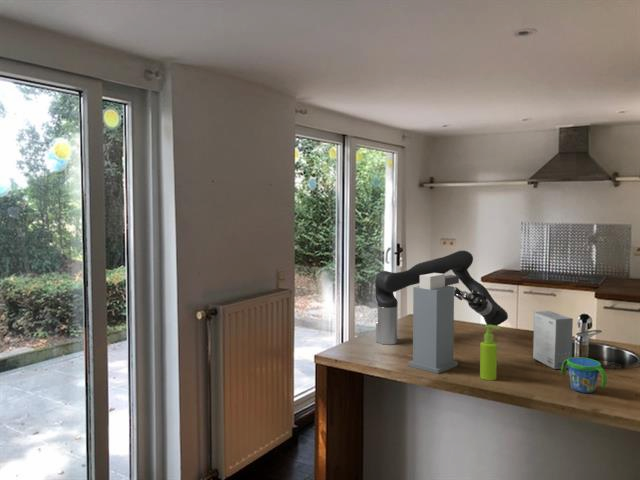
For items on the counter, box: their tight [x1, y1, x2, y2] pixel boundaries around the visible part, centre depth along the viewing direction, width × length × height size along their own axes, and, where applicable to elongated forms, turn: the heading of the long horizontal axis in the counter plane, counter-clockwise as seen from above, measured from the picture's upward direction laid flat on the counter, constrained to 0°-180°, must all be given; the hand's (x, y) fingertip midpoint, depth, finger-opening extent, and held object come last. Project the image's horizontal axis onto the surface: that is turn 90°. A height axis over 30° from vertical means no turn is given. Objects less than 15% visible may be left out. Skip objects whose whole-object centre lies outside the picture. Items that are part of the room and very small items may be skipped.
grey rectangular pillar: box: [407, 285, 459, 375], centre depth 209 cm, size 14×14×32 cm
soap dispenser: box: [479, 324, 501, 381], centre depth 194 cm, size 6×7×20 cm
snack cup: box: [560, 356, 608, 394], centre depth 182 cm, size 16×10×10 cm
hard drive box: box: [532, 310, 574, 370], centre depth 211 cm, size 16×8×20 cm, turn 9°
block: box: [419, 273, 460, 290], centre depth 210 cm, size 21×5×5 cm, turn 133°
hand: (463, 290), depth 223 cm, fingers open, 8 cm apart
